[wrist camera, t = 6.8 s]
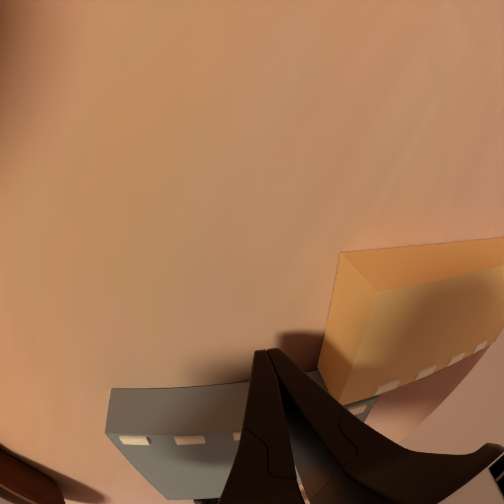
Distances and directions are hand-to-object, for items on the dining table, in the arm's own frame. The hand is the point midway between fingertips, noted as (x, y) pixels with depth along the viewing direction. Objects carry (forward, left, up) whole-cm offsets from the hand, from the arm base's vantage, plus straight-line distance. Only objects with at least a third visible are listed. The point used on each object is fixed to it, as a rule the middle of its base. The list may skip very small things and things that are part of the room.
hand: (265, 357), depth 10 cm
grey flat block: (-9, +1, -2) cm, 9 cm away
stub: (0, -9, -2) cm, 9 cm away
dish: (-22, +29, -2) cm, 36 cm away
